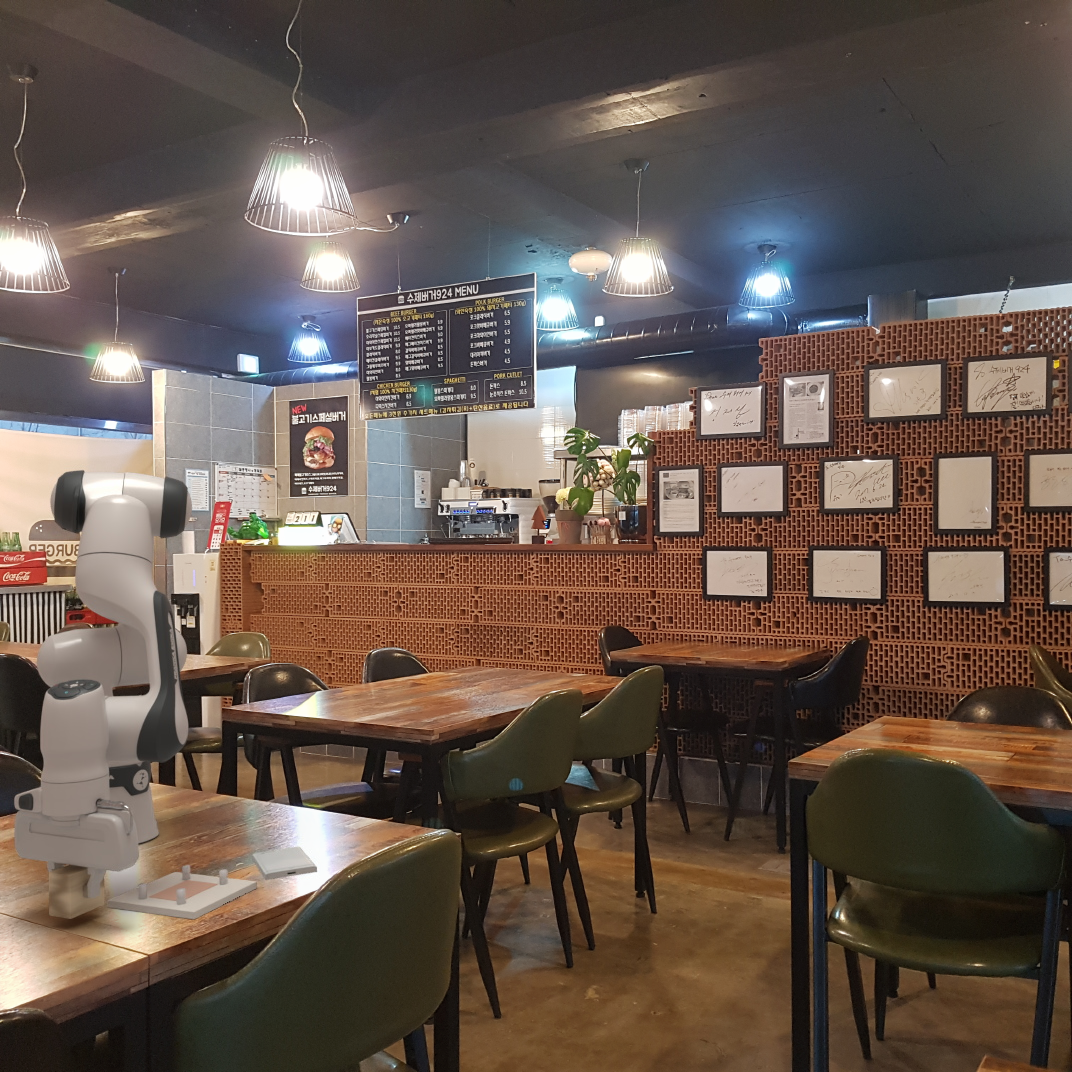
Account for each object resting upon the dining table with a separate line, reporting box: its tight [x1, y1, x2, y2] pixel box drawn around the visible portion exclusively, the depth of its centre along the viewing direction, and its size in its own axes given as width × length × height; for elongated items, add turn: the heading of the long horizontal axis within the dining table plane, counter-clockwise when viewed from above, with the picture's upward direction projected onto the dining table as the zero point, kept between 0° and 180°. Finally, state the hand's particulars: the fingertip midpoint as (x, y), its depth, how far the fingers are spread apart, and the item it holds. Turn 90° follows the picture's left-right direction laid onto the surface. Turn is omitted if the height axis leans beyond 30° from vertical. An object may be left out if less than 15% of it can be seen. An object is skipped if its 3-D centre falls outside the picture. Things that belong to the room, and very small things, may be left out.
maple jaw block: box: [48, 864, 106, 920], centre depth 142 cm, size 4×6×6 cm, turn 157°
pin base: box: [107, 864, 258, 920], centre depth 151 cm, size 16×14×3 cm
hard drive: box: [251, 846, 318, 881], centre depth 165 cm, size 2×8×12 cm
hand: (77, 894), depth 142 cm, fingers closed on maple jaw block, 4 cm apart
